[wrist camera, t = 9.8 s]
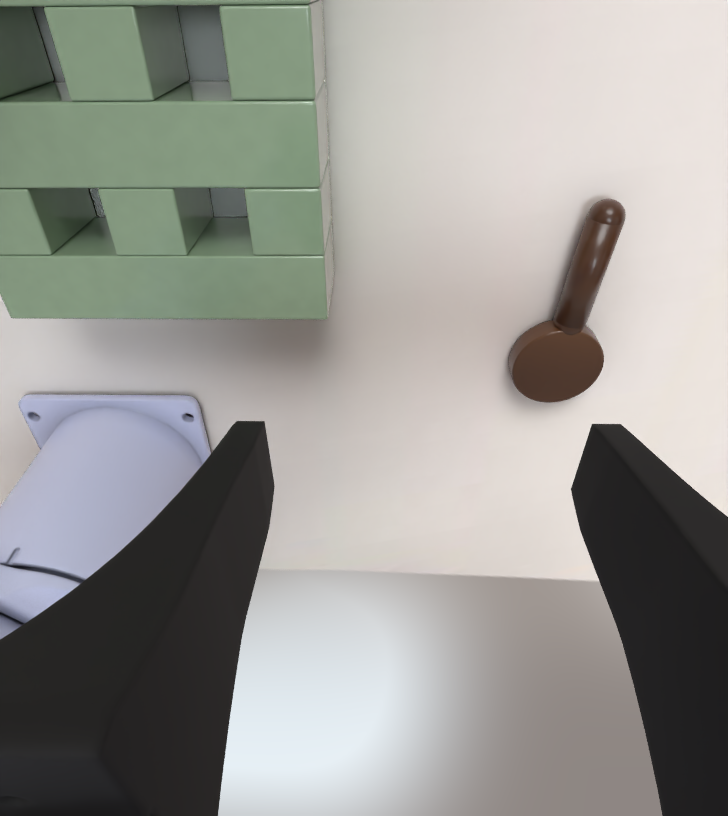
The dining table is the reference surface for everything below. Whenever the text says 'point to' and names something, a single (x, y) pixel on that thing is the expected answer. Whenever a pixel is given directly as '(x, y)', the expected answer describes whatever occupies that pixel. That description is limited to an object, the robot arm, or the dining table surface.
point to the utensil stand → (163, 164)
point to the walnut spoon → (570, 319)
